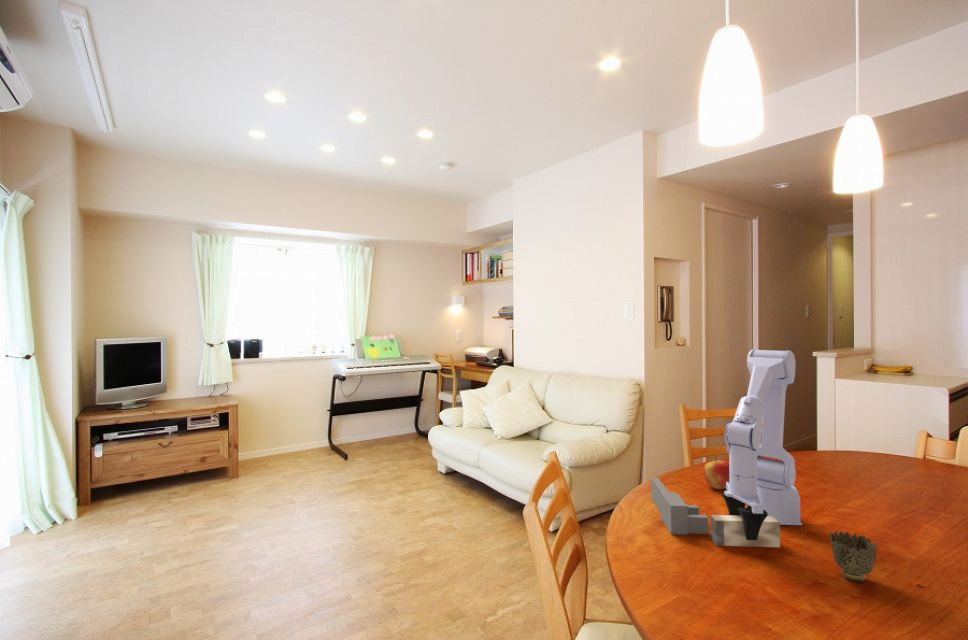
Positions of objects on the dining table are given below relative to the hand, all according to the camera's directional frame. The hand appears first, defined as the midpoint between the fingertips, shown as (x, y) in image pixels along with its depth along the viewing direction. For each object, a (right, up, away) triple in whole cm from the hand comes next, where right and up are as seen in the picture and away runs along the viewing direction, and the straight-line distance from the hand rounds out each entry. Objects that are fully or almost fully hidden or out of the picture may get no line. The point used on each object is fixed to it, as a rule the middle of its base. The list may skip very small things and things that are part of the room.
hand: (743, 531), depth 110 cm
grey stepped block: (-9, -3, +16) cm, 19 cm away
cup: (+14, -3, -15) cm, 21 cm away
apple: (+11, -2, +35) cm, 37 cm away
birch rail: (0, -3, 0) cm, 3 cm away
